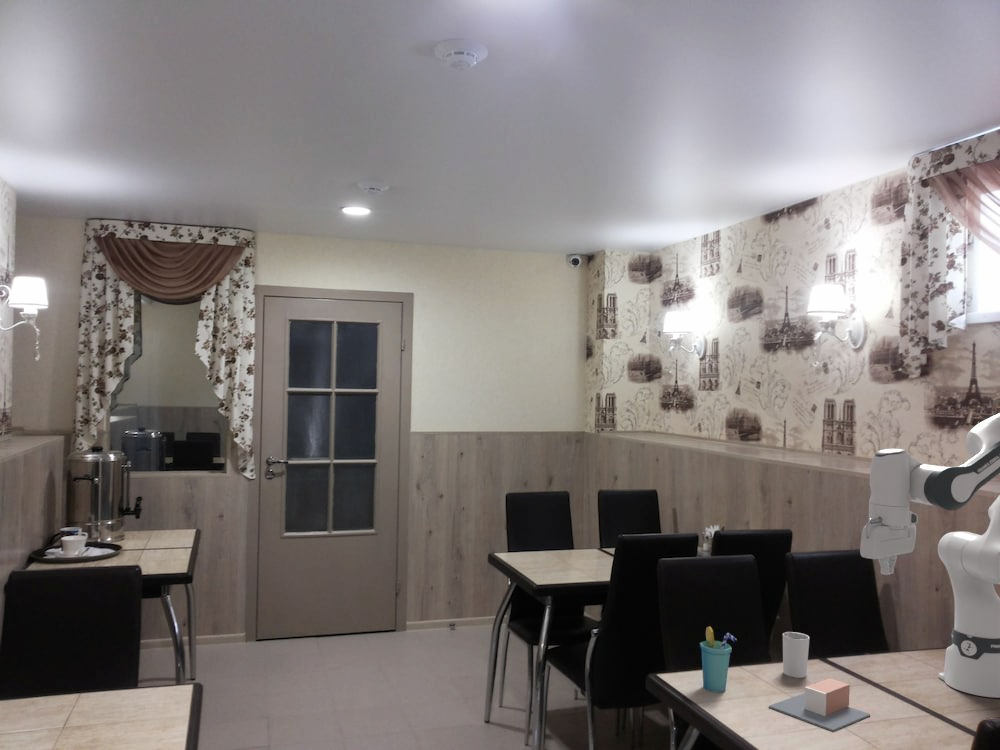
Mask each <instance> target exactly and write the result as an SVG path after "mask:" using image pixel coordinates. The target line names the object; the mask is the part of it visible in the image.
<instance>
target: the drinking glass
mask: <svg viewBox="0 0 1000 750" xmlns="http://www.w3.org/2000/svg"><path fill="white" fill-rule="evenodd" d="M809 648H810V636H809V635H808V634H805V633H801V632H796V631H795V632H793V631H786V632H783V633H782V673H783V674H784V675H786V676H788V677H791V678H792V677H793V678H797V679H798V678H799V679H801V678H802V679H803V678H805V677H807V673H808V672H807V671H808V661H809V659H808V658H809V650H810V649H809Z"/></svg>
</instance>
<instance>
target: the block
mask: <svg viewBox="0 0 1000 750" xmlns="http://www.w3.org/2000/svg"><path fill="white" fill-rule="evenodd" d="M850 686H851V685H850V684H849V683H846V682H843V681H840V680H837V679H834V678H830V677H829V678H827V679H823V680H822V681H818V682H815V683H813V684H809V685H807V686H805V687H804V693H805V700H804V709H806V710H809V711H812V712H815V713H817V714H820V715H823V716H826V715H828V714H830V713H833V712H835V711H838V710H840V709H843V708H845V707H847V706H848V707H850Z"/></svg>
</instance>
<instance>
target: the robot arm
mask: <svg viewBox="0 0 1000 750" xmlns="http://www.w3.org/2000/svg"><path fill="white" fill-rule="evenodd" d="M965 444H966V448H967V451H968V454H969V455H970V456H971V458H970V459H968V460H967V461H966V462H964V464H961V465H958V466H957V465H956V466H943V465H936V464H929V463H924V462H922V461H919V460H918V459H916V458H915V457H913V456H912V455H910V454H909V452H908V451H907V449H903V448H886V449H881V450H877V452H875V453H874V454H873V456H872V459H871V463H870V472H869V487H870V488H869V489H870V497H869V501H868V521H867V523H866V524H865V525H864V526H863V528H862V530H861V537H860V547H859V552H860V556H861V557H862V558H865V559H870V560H878V564H879V566H880V574H881V575H883V576H884V575H885V576H888V575H891V574H894V573H895V572H894V570H895V565H896V562H897V559H898V556H899V555H905V554H910V553H913V551H914V549H915V546H916V539H917V538H916V537H917V526H916V524H917V523H918V522H919V516H918V514H917V513H915V512H913V511H911V510H910V506H911V504H910V502H913V503H918V504H922V505H926V506H927V505H928V506H933V507H936V508H939V509H943V510H946V511H951V512H952V511H957V510H960V509H962V508H963V507H965V506H966V505H967V504H968V503H969V502H970V501H971V500H972V498H973V497H974V496H975V494H976V493H977V492H978V491H979V490H980V489H981V488H982V487H983V486H985V485H986V484H987V483H988V482H991V480H993V479H994V478H996V476H998V475H999V474H1000V412H998V413H997V414H994V415H992V416H990V417H988V418H986V419H984V420H982V421H981V422H979V423H977V424H976V425H974V426H973V427H971V429H970V430H969V431H968V432H967V435H966V439H965ZM987 514H988V517H989V520H990V521H989V525H988V527H987V530H986V531H985V532H984V533H983V534H977V533H973V532H971V531H951V532H948V533H945V534H944V535H943V536H942V537H941V538H940V539H939V541H938V544H937V554H938V557H939V559H940V560H941V562H942V563H943V565H944V567H945V568H946V571H947V574H948V576H949V580H950V585H951V588H952V592H953V600H954V627H952V629H951V630H952V631H951V643H952V644H951V645H949V646H948V647H946V650H945V659H944V660H945V661H944V668H943V671H942V672H938V678H939V679H940V680H942V681H944V682H945V684H946V685H948V687H951V688H953V689H955V690H958V691H960V692H963V693H965V694H966V693H967V694H970V695H975V696H978V697H979V696H980V697H987V698H997V699H999V698H1000V596H999V595H998V593H997V592H996V589H995V586H994V585H1000V494H999V495H998V496H997V498H996V499H995V500H994V501H993V502H992V503H991V505H990V506H989V508H988V510H987Z"/></svg>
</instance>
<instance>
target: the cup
mask: <svg viewBox="0 0 1000 750" xmlns="http://www.w3.org/2000/svg"><path fill="white" fill-rule="evenodd" d="M705 638H706V640H703V641H701V642H699V647H700V649H701V662H702V663H701V666H702V682H703V683H702V684H703V686H702V687H703V688H704V690H706V691H709V692H712V693H724V692H725V691H726V690H727V689H726V688H727V680H728V674H729V665H730V657H731V653H732V646H731V645H730V644H729V643H727V640H728V639H730V640H731V641H733V642H734V643H737V642H738V639H737V638H735V636H733V635H732V634H731V633H729V632H727V633H726V634H724V637H723V639H722V641H719V640H715V635H714V630H713V628H712V627H711V626H707V627H706V629H705Z"/></svg>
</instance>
